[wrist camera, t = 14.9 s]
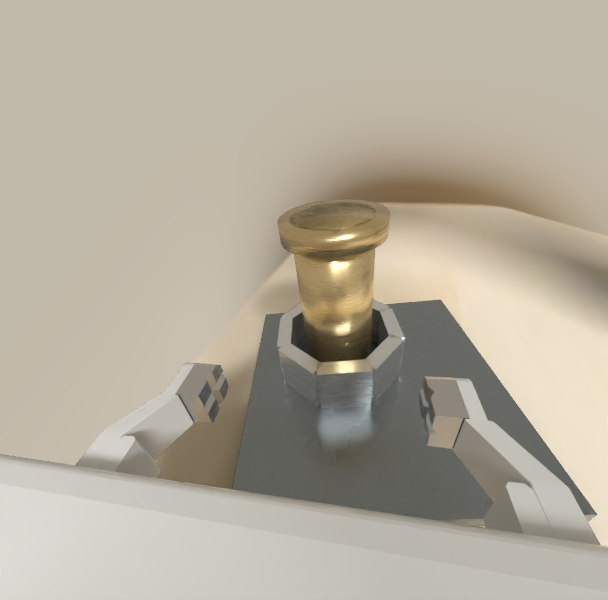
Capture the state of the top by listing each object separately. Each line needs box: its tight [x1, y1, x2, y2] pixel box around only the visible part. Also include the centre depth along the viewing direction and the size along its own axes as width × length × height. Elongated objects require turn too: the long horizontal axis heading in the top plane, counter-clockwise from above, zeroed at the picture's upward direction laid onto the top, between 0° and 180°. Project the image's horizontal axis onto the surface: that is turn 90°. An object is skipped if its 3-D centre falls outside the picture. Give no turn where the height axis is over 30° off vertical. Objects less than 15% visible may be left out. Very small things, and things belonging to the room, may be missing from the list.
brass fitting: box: [278, 199, 389, 363], centre depth 19 cm, size 6×6×12 cm
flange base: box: [232, 300, 597, 526], centre depth 20 cm, size 18×18×4 cm
